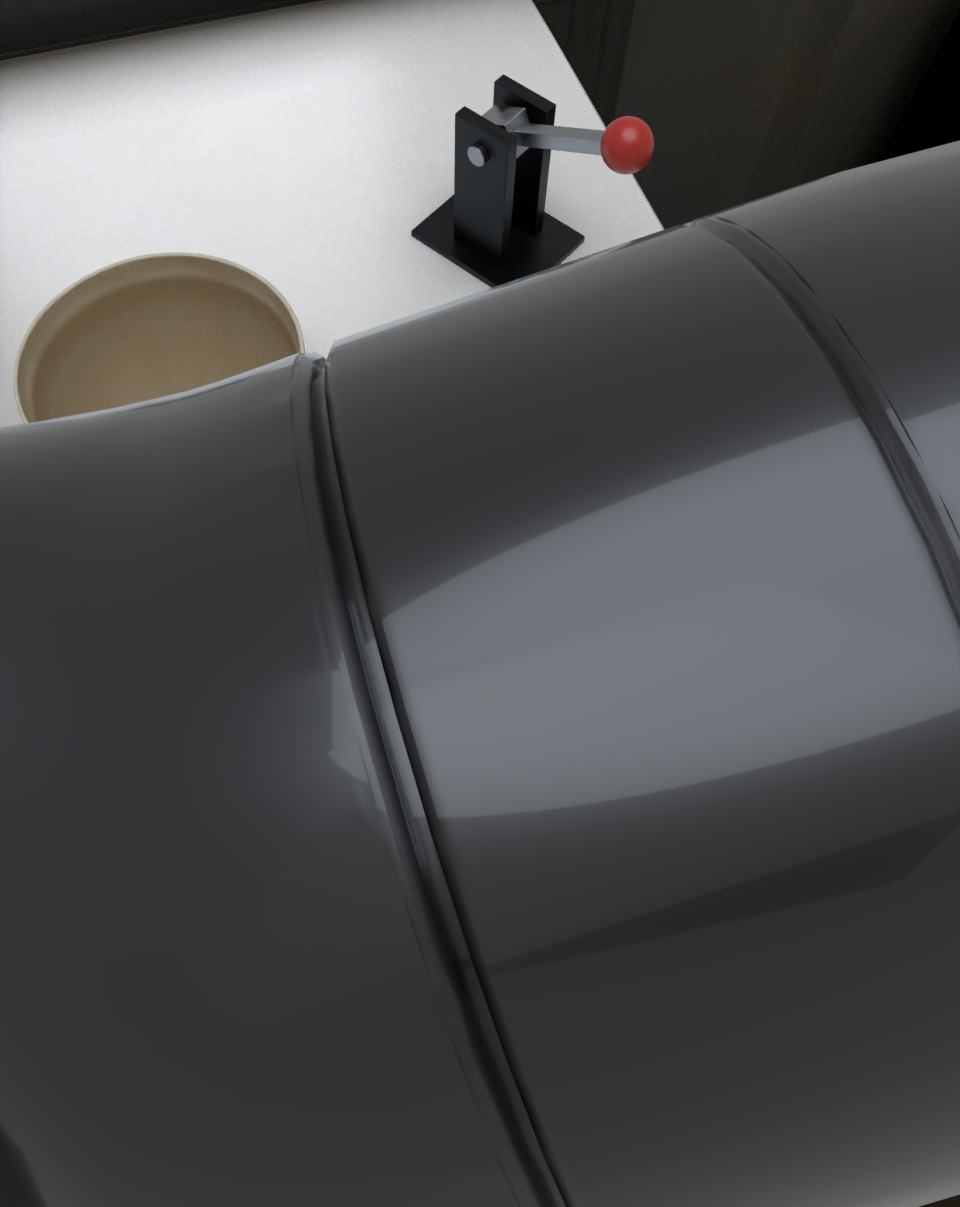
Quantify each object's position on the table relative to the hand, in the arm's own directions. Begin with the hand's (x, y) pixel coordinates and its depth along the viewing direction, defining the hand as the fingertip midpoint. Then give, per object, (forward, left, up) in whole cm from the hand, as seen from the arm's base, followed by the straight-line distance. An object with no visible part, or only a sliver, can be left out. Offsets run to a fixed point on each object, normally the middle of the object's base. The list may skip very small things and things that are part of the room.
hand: (360, 724), depth 41 cm
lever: (-30, -29, -7) cm, 42 cm away
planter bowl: (-1, -27, -18) cm, 33 cm away
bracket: (-28, -34, -18) cm, 48 cm away
